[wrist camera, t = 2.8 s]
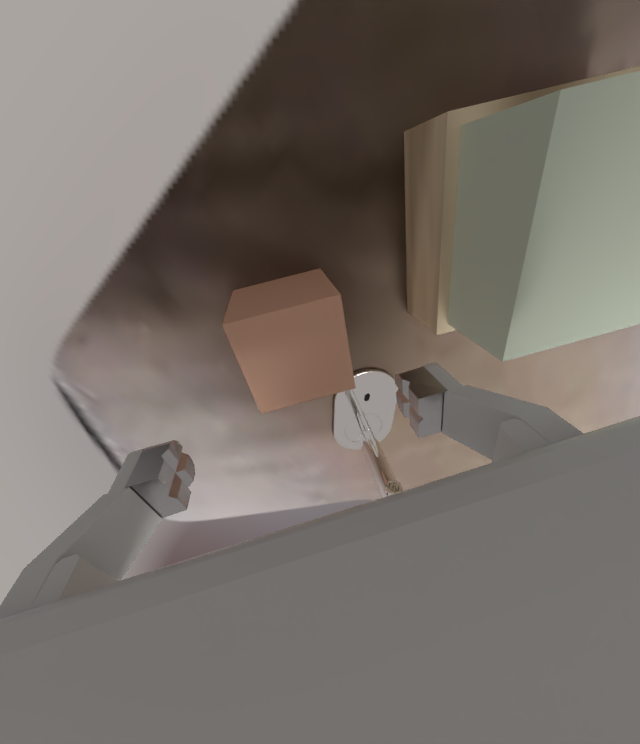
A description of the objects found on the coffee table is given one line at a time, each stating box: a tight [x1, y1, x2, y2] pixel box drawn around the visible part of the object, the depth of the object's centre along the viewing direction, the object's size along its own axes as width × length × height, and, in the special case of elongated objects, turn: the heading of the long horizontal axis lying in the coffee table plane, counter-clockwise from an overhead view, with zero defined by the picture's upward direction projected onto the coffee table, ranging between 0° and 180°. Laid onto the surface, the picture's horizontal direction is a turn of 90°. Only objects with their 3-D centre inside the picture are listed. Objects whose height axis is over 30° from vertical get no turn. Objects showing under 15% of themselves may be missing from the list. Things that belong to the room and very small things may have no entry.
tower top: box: [447, 71, 640, 362], centre depth 11 cm, size 8×8×4 cm
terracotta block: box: [222, 268, 356, 414], centre depth 15 cm, size 5×5×5 cm
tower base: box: [404, 66, 640, 335], centre depth 14 cm, size 9×9×4 cm
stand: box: [333, 368, 403, 498], centre depth 19 cm, size 8×5×8 cm
